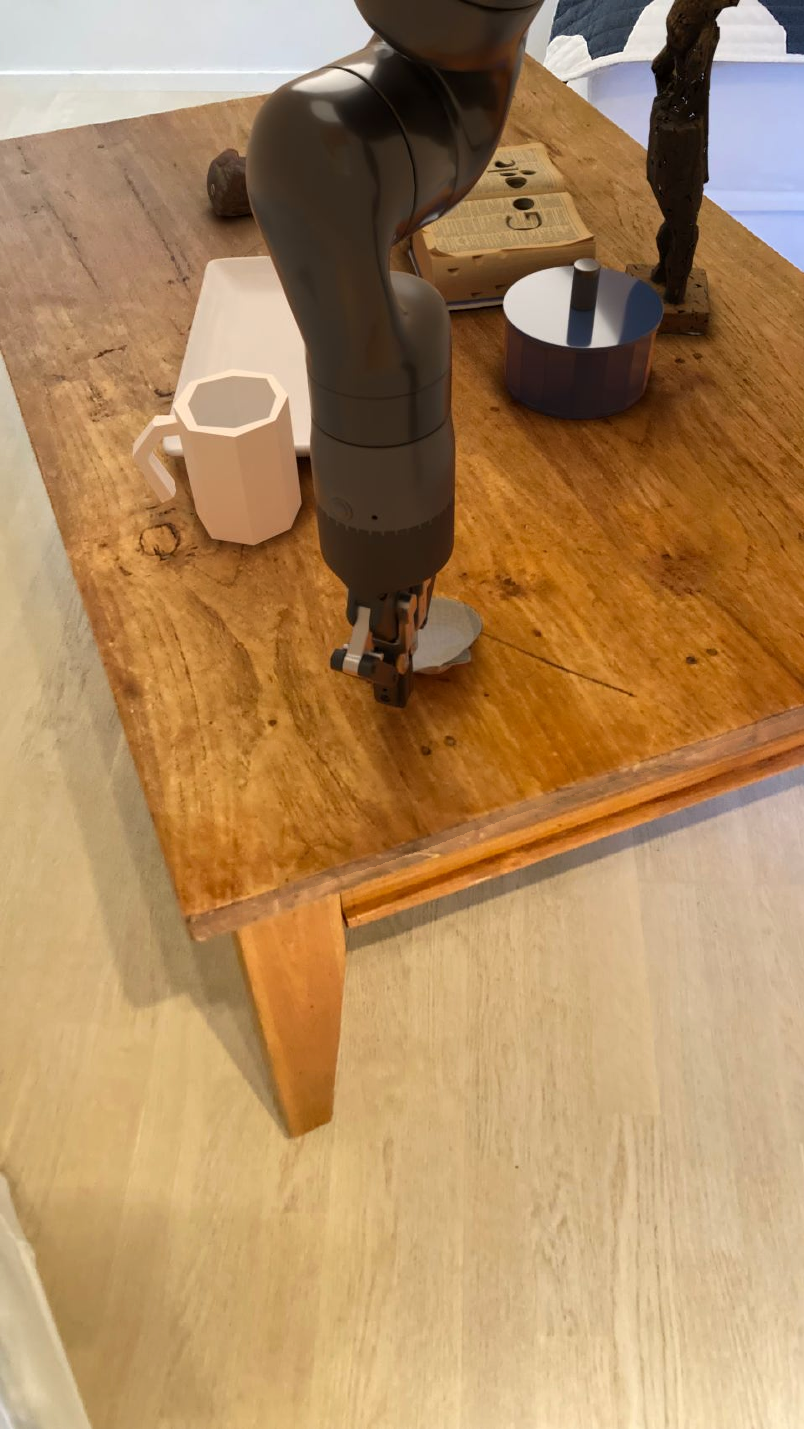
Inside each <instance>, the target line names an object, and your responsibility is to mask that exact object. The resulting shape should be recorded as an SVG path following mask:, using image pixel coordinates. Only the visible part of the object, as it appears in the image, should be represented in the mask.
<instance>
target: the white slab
mask: <svg viewBox="0 0 804 1429" xmlns="http://www.w3.org/2000/svg"><path fill="white" fill-rule="evenodd" d="M205 266H206V267H205V270H204V274H203V278H202V283H201V287H200V290H199V296H198V300H197V303H196V308H195V312H194V315H193V319H192V323H191V327H190V330H189V334H188V339H187V343H186V347H185V352H184V355H183V360H182V364H181V368H180V371H179V376H178V381H177V384H176V389H175V392H174V396H173V399H172V404H171V407H170V411H169V415H175V413H174V409H173V405H174V403H175V402H176V400H177V399H178V398H179V396H180V395H181V393H182V392H183V391H184V389H185V388H186V386H187V385H188V384H189V382H191V381H194V380H198V379H201V378H204V377H207V376H211V375H214V374H217V373H221V372H224V371H227V370H231V369H237V370H244V371H251V372H258V373H265V374H272V375H273V376H274V377H275V379H276V380H277V381H278V383H279V384H280V385H281V387H282V388H283V389H284V391H285V392H286V393H287V395H288V398H289V406H290V414H291V422H292V430H293V438H294V446H295V454H296V458H310V433H311V409H310V399H309V389H308V380H307V370H306V363H305V350H304V343H303V340H302V337H301V334H300V331H299V329H298V326H297V324H296V321H295V319H294V316H293V314H292V311H291V309H290V307H289V304H288V302H287V299H286V297H285V294H284V291H283V288H282V286H281V283H280V280H279V278H278V275H277V273H276V270H275V268H274V265H273V263H272V261H271V258H270V256H269V255H263V256H262V255H261V256H260V255H259V256H240V257H238V256H237V257H236V256H235V257H222V258H215V259H212V260H209V262H207V263H206V265H205ZM161 443H162V444H161V445H162V450H163V452H164V453H165V454H166V455H169V456H172V457H181V458H182V457H183V458H184V454H183V449H182V445H181V440H180V436H179V435H176V436H169V437H163V438H162V442H161Z"/></svg>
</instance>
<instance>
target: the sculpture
mask: <svg viewBox="0 0 804 1429" xmlns="http://www.w3.org/2000/svg"><path fill="white" fill-rule="evenodd" d="M740 2H741V0H673V3H672V5H671V7H670V9H669V11H668V13H667V16H666V18H665V28H666V36H665V42H666V44H665V45H664V46H663V48H661V50H660V51H659V52H658V53H657V55H656V56H655V57H653V60H652V62H651V66H650V70H651V72H652V74H653V75H654V82H655V88H656V96H654V97H653V100H652V105H651V111H650V113H649V114H650V115H649V120H648V121H649V130H648V131H649V132H648V138H647V140H648V141H647V152H646V161H645V170H646V172H645V173H646V177H645V178H646V181H647V182H648V184H649V187H650V189H651V191H652V193H653V196H654V198H655V200H656V202H657V205H658V207H659V209H660V211H661V214H662V216H663V218H664V220H663V222H662V223H661V224H660V226H659V228H658V230H657V233H656V237H655V243H656V249H657V251H658V263H657V264H646V263H627V265H626V266H625V271H624V273H626V274H629V275H631V276H633V277H636V278H638V279H640V280H641V281H643V282H645V283H646V284H648V285H649V286H650V287H651V288H653V289H654V290H655V291H656V293H657V294H658V295H659V297H660V298H661V300H662V303H663V307H664V311H663V318H662V322H661V324H660V326H659V328H658V329H657V332H656V334H660V333H664V334H665V333H671V334H688V335H698V336H699V335H704V334H705V333H707V332H709V331H708V327H709V326H708V325H709V323H710V315H711V307H710V298H709V282H708V275H707V270H706V269H704V268H696V267H693V265H694V257H695V253H696V249H697V247H698V246H697V245H698V241H699V238H700V228H699V225H698V224H697V223H698V219H699V218H698V217H699V212H700V210H701V208H702V204H703V197H704V191H705V188H704V185H705V184H708V183H709V181H710V174H709V173H710V172H709V144H710V142H709V135H710V90H711V78H712V77H711V76H712V70H713V69H712V68H713V62H714V58H715V55H716V51H717V49H718V48H717V47H718V44H719V42H720V40H721V26H719V25H718V21H717V19H718V17H719V16H720V14H721V13H722V11H723V10H724V9H728V8H732V7H733V8H737V7H738V5H739V4H740ZM679 311H683V312H680V313H679ZM691 327H692V328H691Z"/></svg>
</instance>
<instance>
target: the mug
mask: <svg viewBox="0 0 804 1429" xmlns="http://www.w3.org/2000/svg"><path fill="white" fill-rule="evenodd" d="M173 409H174V413H175V415H170V414H168V415H167V414H165V415H160V414H159V415H154V417H153V418H152V419H151V420H150V422H149V423H148V424H147V425H146V427H145V428H144V430H143V431H141V433H140V435H139V436H138V437H137V439H135V441H133V446H132V455H131V458H132V460H133V461H134V463H135V465H136V466H137V468H138V469H139V471H140V472H141V474H142V475H143V477H144V478H145V480H146V481H147V483H148V484H149V486H150V487H151V489H152V491H153V492H154V494H155V495H156V497H157V498H158V499H159V502H161V503H162V504H163V503H165V502H167V501H169V500H172V499H173V498H174V497H175V495H176V493H177V489H176V483H175V479H174V478H173V477H172V476H171V474H170V473H169V471H168V470H167V469H166V468H165V466H164V465H163V463H162V462H161V461H160V459H159V458H158V457H157V456H156V454H155V453H154V450H155V449H156V448H157V446H158V445H159V443H160V442H161V441H162V440H163V438H164V437H169V436H176V435H179V436H180V440H181V445H182V449H183V454H184V457H183V458H184V463H185V467H186V471H187V472H186V473H187V476H188V481H189V484H190V489H191V494H192V499H193V503H194V507H195V508H194V509H195V511H196V514H197V517H198V518H199V520H200V522H201V523H202V525H203V526H204V528H205V530H206V532H207V533H208V535H209V536H210V538H211V539H213V540H219V541H225V542H231V543H237V544H241V545H242V544H243V545H249V546H255V545H258V544H260V543H262V542H265V541H267V540H269V539H271V538H273V537H276V536H277V535H280V534H283V533H284V532H287V531H289V530H291V529H292V527H293V524H294V522H295V520H296V518H297V515H298V513H299V510H300V508H301V506H302V496H301V486H300V480H299V478H300V477H299V471H298V463H297V457H296V454H295V446H294V438H293V430H292V422H291V414H290V406H289V398H288V395H287V393H286V392H285V391H284V389H283V388H282V387H281V385H280V384H279V383H278V381H277V380H276V379H275V377H274V376H273V375H272V374H265V373H258V372H251V371H244V370H237V369H231V370H227V371H224V372H221V373H217V374H214V375H211V376H207V377H204V378H201V379H198V380H194V381H191V382H189V384H188V385H187V386H186V388H185V389H184V391H183V392H182V393H181V395H180V396H179V398H178V399H177V400H176V402H175V403H174V405H173Z"/></svg>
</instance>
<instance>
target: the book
mask: <svg viewBox="0 0 804 1429" xmlns="http://www.w3.org/2000/svg"><path fill="white" fill-rule="evenodd" d="M595 237H596V235H595V234H593V233H591V232H590V231H589V229H588V228H587V226H586V225H585V223H584V222H583V219H582V218H581V216H580V214H579V212H578V209H577V206H576V205H575V202H574V199H573V197H572V196H571V194H570V193H569V192H567V191H566V182H565V177H564V176H563V174H562V173H561V172H560V171H559V169H557V167H555V166H554V164H553V163H552V160H550V157H549V155H548V151H547V149H546V147H545V146H544V143H543V142H540V141H536V142H535V141H534V142H531V143H524V144H519V145H507V146H498V147H497V149H496V151H495V153H494V155H493V157H492V159H491V161H490V163H489V165H488V166H487V168H486V170H485V171H484V173H483V175H482V176H481V178H480V179H479V181H478V182H477V183H476V185H475V186H474V187H473V189H472V190H471V191H470V193H469V194H468V195H467V196H466V197H465V198H464V199H463V200H462V202H461V203H460V204H458V205H457V206H456V207H455V208H454V209H453V210H451V211H450V212H449V213H447V214H446V215H444V216H443V217H441V218H439V219H438V220H436V221H434V222H433V223H431V224H429V225H427V226H426V227H424V228H422V229H421V230H419V231H417V232H416V233H414V234H412V235H411V236H409V249H408V256H409V258H410V260H411V263H412V266H413V268H414V270H415V274H416V276H417V277H420V278H422V279H424V280H426V281H428V282H429V283H430V284H432V285H433V286H434V287H435V288H436V289H437V290H438V291H439V293H440V294H441V295H442V297H443V298H444V300H445V302H446V305H447V308H448V311H453V310H454V311H455V310H456V311H457V310H465V309H478V308H483V307H491V306H499V305H503V300H504V297H505V295H506V293H507V291H508V290H509V289H510V287H511V286H512V285H514V284H515V283H516V282H517V281H519V280H520V279H522V278H524V277H526V276H528V275H530V274H533V273H535V272H538V271H542V270H545V269H550V268H556V267H563V266H574V263H575V262H576V261H577V260H579V259H584V258H589V259H594V260H596V251H597V249H596V248H597V246H596V245H597V242H596V240H595Z"/></svg>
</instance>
